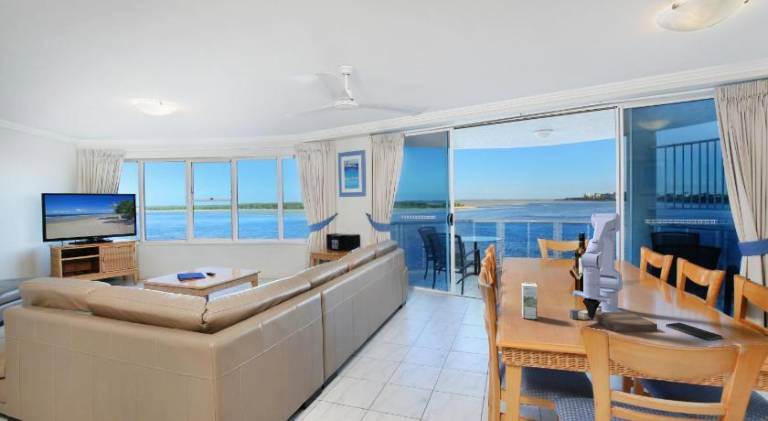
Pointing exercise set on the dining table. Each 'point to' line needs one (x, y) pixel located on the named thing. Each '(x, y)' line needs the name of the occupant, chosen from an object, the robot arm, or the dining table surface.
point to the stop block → (575, 313)
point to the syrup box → (529, 300)
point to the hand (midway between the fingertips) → (591, 317)
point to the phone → (694, 331)
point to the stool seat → (624, 322)
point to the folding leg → (585, 315)
